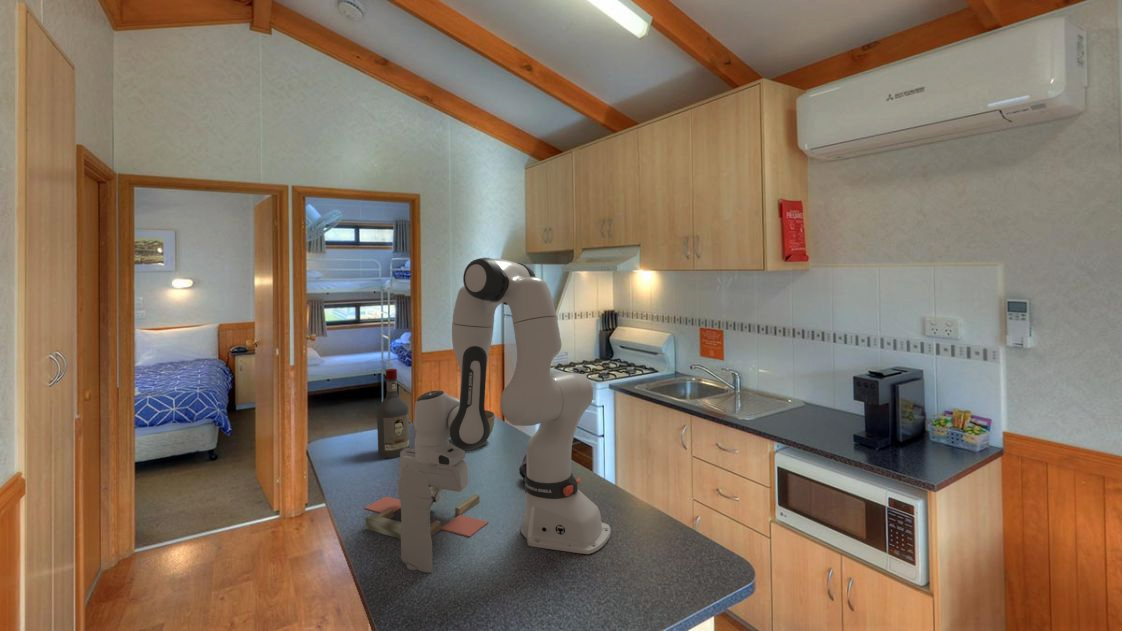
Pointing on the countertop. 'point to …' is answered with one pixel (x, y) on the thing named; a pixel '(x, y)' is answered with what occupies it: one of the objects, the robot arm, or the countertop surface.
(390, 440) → the liquor
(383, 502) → the mats
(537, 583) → the countertop surface
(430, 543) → the tall pale column
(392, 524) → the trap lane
